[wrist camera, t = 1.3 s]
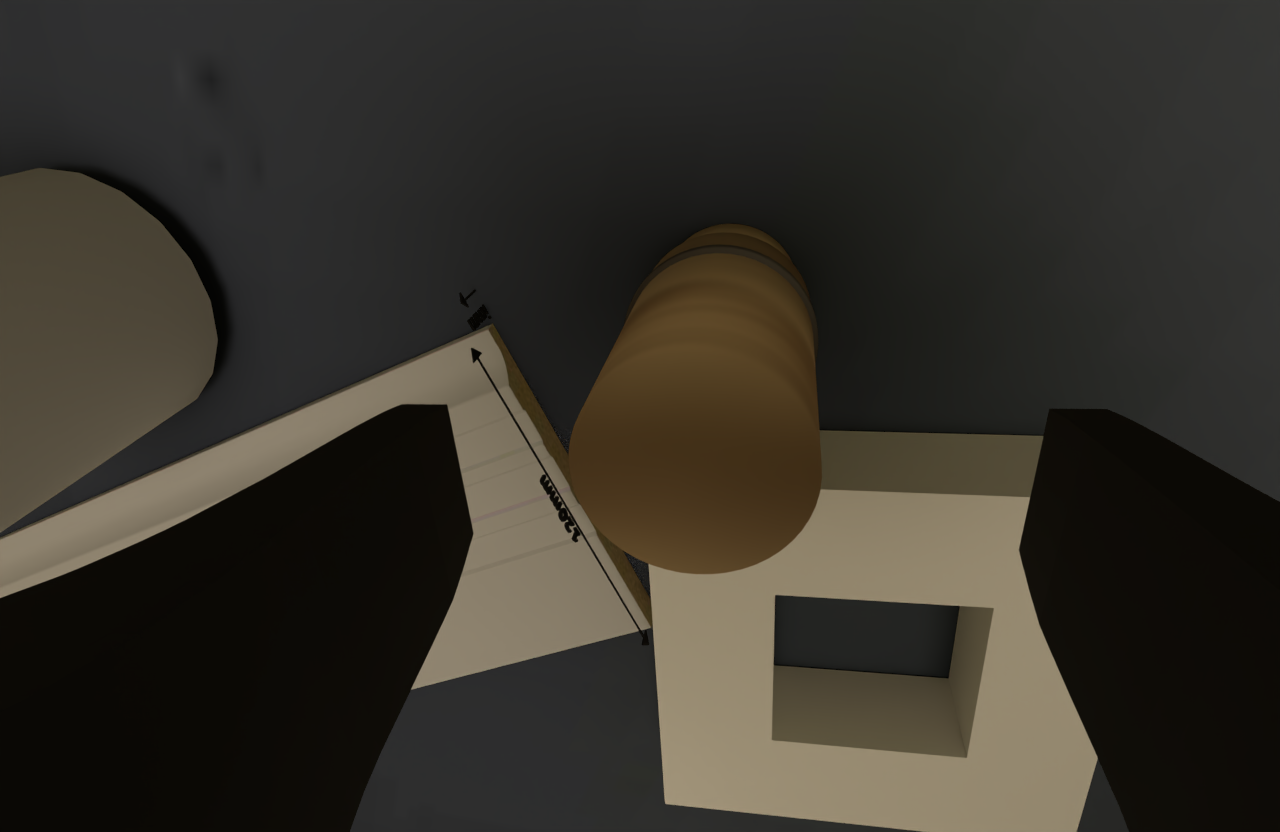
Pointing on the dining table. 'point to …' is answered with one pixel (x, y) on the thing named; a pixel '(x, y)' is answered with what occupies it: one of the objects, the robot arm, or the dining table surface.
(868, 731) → the socket board
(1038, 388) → the dining table surface
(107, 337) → the can
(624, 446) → the oak peg
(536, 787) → the dining table surface
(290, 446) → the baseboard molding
